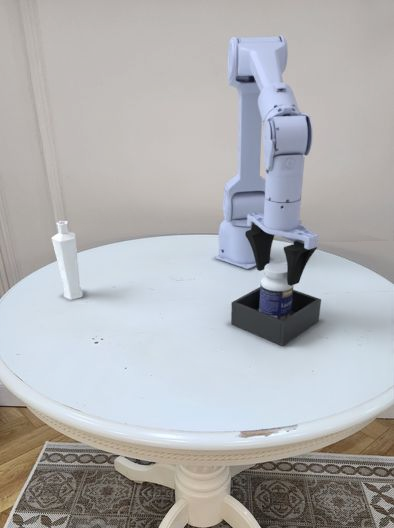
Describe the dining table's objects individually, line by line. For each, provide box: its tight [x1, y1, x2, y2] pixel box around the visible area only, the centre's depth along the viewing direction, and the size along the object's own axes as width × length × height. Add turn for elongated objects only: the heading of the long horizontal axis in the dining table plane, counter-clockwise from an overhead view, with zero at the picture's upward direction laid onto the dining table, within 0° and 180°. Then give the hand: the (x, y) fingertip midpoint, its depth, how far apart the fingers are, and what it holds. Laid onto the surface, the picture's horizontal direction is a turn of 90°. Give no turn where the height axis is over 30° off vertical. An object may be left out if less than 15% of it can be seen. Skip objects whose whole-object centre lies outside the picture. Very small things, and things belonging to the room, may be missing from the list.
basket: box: [230, 286, 322, 347], centre depth 94 cm, size 11×11×4 cm
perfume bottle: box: [51, 220, 84, 301], centre depth 103 cm, size 5×4×15 cm
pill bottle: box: [259, 262, 294, 321], centre depth 93 cm, size 6×6×10 cm
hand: (277, 276), depth 92 cm, fingers open, 7 cm apart
